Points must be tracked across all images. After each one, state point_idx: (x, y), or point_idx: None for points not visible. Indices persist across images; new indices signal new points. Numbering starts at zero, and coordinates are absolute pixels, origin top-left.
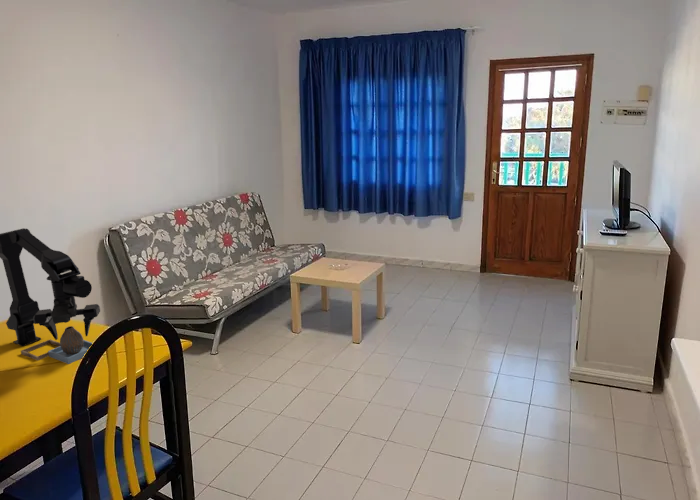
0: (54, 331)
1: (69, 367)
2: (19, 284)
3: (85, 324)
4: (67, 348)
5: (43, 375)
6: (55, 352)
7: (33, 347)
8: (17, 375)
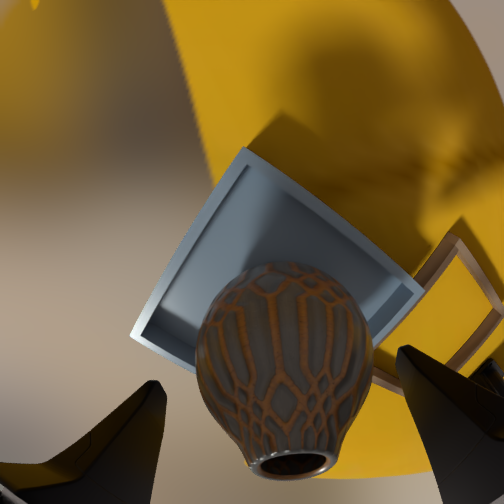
0: (439, 404)
1: (216, 100)
2: None
3: (83, 461)
4: (288, 268)
5: (338, 25)
6: (386, 302)
7: (472, 346)
8: (466, 78)
